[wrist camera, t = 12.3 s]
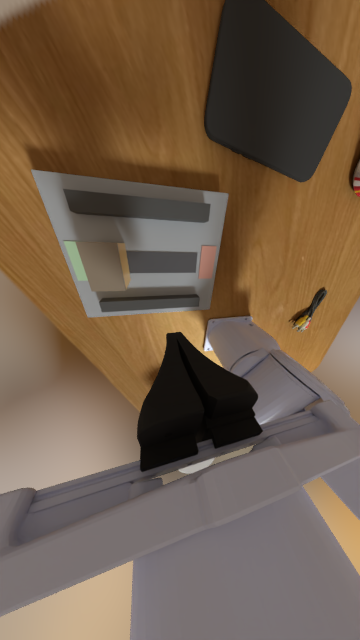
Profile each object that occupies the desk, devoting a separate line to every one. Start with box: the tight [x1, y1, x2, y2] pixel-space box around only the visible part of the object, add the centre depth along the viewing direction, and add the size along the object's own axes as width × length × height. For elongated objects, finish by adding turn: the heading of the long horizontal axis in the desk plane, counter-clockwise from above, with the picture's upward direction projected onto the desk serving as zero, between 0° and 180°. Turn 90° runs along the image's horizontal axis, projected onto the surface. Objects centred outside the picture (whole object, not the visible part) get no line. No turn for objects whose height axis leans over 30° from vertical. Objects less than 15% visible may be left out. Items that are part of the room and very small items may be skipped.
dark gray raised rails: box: [63, 189, 211, 312], centre depth 15 cm, size 13×11×1 cm
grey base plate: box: [31, 170, 229, 317], centre depth 17 cm, size 18×14×2 cm
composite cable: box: [292, 290, 327, 332], centre depth 28 cm, size 10×5×2 cm, turn 156°
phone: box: [204, 0, 352, 182], centre depth 13 cm, size 7×1×15 cm
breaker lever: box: [75, 242, 131, 292], centre depth 13 cm, size 3×4×4 cm
